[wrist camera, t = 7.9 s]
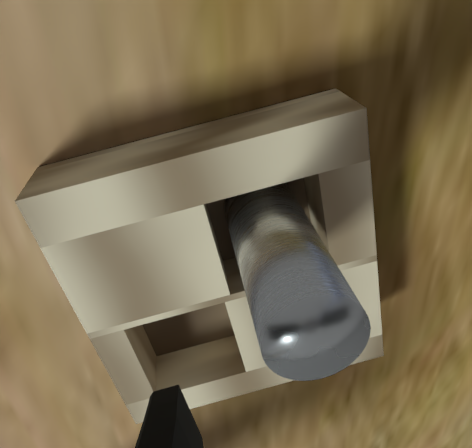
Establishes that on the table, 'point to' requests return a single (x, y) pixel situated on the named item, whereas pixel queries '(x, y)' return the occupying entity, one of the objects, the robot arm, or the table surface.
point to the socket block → (200, 240)
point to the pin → (294, 287)
